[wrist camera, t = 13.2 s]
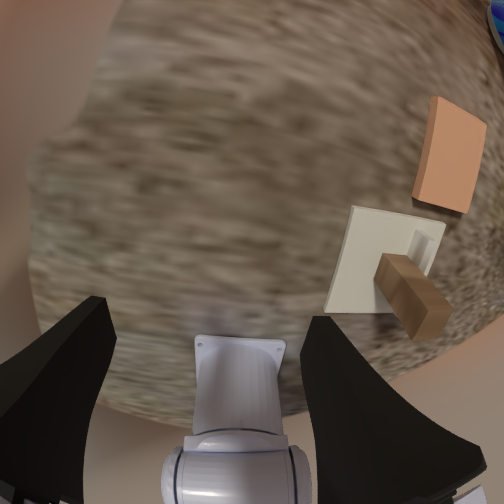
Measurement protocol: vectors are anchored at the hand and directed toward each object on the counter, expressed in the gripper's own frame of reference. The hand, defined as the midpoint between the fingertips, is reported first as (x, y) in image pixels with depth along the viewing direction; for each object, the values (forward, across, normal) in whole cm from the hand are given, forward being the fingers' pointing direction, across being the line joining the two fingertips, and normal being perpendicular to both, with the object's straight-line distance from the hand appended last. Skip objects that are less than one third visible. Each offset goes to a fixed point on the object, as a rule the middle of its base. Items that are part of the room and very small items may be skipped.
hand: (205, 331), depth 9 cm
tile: (+10, -14, -7) cm, 18 cm away
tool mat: (+10, -13, +3) cm, 17 cm away
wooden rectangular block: (+10, -13, +3) cm, 17 cm away
